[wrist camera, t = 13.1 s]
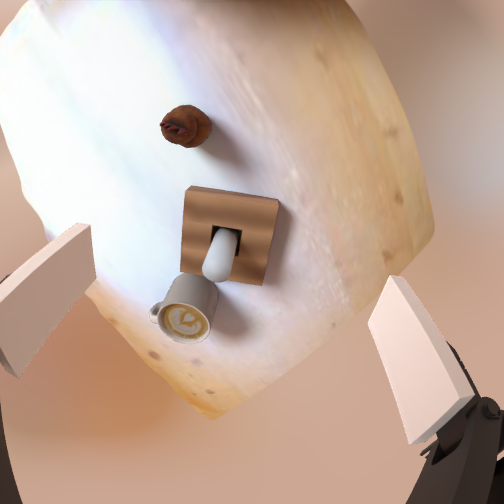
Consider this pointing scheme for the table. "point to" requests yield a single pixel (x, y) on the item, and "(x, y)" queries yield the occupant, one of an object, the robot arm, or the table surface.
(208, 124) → the wooden figurine
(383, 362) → the robot arm
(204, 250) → the bore block
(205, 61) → the table surface
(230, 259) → the peg
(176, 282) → the coffee mug
